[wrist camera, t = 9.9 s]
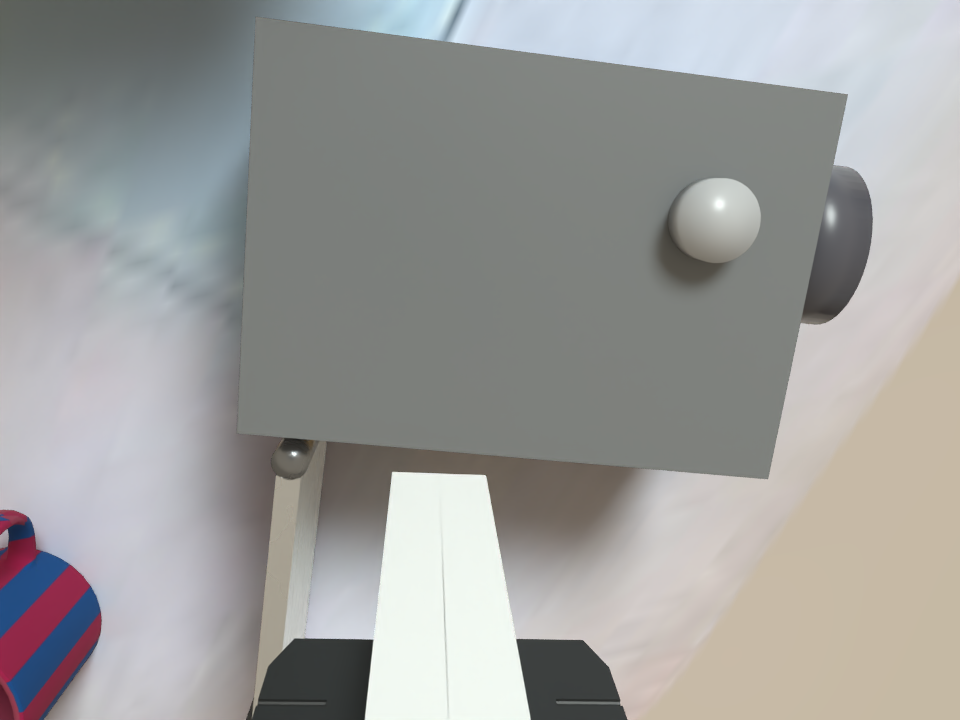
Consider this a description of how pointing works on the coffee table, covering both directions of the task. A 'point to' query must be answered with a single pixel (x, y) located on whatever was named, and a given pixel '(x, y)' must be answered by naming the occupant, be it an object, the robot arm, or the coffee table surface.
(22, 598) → the mug
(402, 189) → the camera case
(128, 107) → the coffee table surface
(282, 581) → the side door
